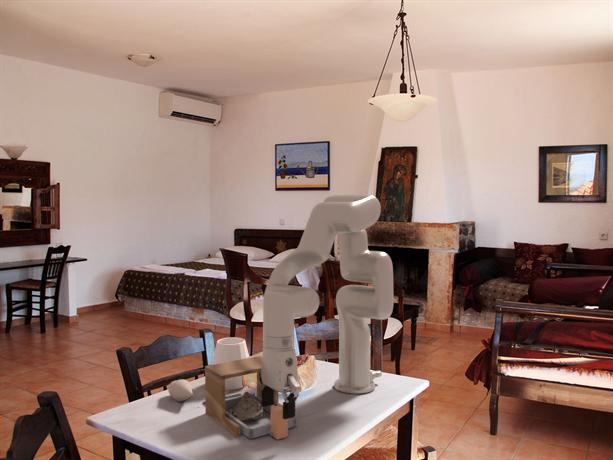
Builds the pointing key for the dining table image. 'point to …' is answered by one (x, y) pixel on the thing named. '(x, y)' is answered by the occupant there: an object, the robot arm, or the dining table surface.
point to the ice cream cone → (180, 390)
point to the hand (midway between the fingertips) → (277, 411)
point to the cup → (230, 357)
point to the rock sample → (247, 409)
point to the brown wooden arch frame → (216, 388)
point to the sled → (275, 428)
